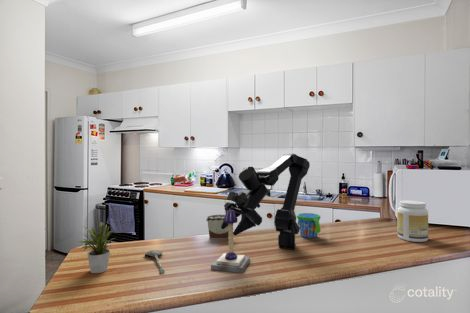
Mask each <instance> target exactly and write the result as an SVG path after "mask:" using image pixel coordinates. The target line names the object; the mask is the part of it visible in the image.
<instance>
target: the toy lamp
mask: <svg viewBox="0 0 470 313" xmlns="http://www.w3.org/2000/svg"><path fill="white" fill-rule="evenodd" d="M225 215H226V216H225V220H224V222H225V223H228V226H229V227H228V230H229V232H228V234H229V236H228V239H227V240H228V252H227V254H226V256H225V259H227V260H234V259H236V258H237V255H238V254H237V255H236V253H235V252H234V251H235V250H234V235H233V232H234V224H237V223H238V219H237V218H238V217H237V216H236V213H235V211H234V210H228V211H227V212H226V211H225Z"/></svg>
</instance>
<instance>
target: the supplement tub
mask: <svg viewBox="0 0 470 313" xmlns="http://www.w3.org/2000/svg"><path fill="white" fill-rule="evenodd" d="M398 205H399V207H398V208H397V211H396V212H397V214H396V216H397V217H396V218H397V223H396V224H397V225H396V226H397V231H396V232H397V233H396V234H397V237H398V238H400V240H403V241H408V242H414V243H416V242H417V243H421V242H422V243H423V242H427V241H428V240H429V210H428V209H427V208H426V207H427V205H426V202H424V201H419V200H406V199H405V200H400V201H399V203H398Z"/></svg>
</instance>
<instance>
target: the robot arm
mask: <svg viewBox="0 0 470 313" xmlns="http://www.w3.org/2000/svg"><path fill="white" fill-rule="evenodd" d="M310 165H311V164H310V161H309V160H308V159H307V158H305V157H302V156H299V155H297V154H296V153H292V152H291V153H288V152H287V153H285V154H283V155H282V156H281V157H280V158H279V159H278V160H277V161H275V162H274V163H273V164H271V165H270V166H268V167H263V168H261V169H259V170H258V171H256V169H255V168H254V166H248V167H247V168H246V169H244V170H242V171H240V173H239V174H238V180H240V182H241V184H242V185H243V186H244V187H245V189H246V190H247V191H248V192H247V193H246V192H244V191H239V192H235V191H232V190H229V193H228V194H227V198H226V200H228V201H227V202H225V204H224V205H223V207H224V210H225V213H226V212H227V211H228V210H234V211H235V213H236V216H237V220H238V219H239V218H238V217H240V216H241V218H240V219H241V220H239V222H238V224H237V226H236V227H235V229H233V236H235V237H236V236H238V235H239V234H241V233H243V232H246V231H247V230H249V229H251V228H253V227H257V226H261V224H262V222H263V217H262V216H261V215H260V213H259V212H257V211H256V208H258V209H259V208H260V207H261V202H262V201H263V200H264V198H265V197H266V196H267V197H268V198H269V197H271V196H272V195H271V189H270V188H267V186H269V187H272V186H274V185H276V183H277V182H278V181H279V176H280V175H281V174H282V173H283V172H285V170H287V169H288V171H289V174H290V176H289V181H288V185H287V189H286V193H285V197H284V200H283V205H282V207H281V208H277V209H276V212H275V216H274V219H273V220H274V222H273V224H274V226H275V231H276V232H279V234H278V235H277V236H278V237H277V238H278V240H277V241H278V243H277V245H278V248H279V249H288V250H290V249H291V250H295V249H296V246H297V243H296V235H298V234H300V227H299V225H298V222H297V215H296V212H295V208H296V205H297V199H298V196H299V193H300V192H299V191H300V188H301V183H302V180H303V178H305V176H307V174H308V172H309V169H310V167H311V166H310ZM224 215H225V216H226V214H224ZM224 220H225V218H224ZM224 220H223V223H222V225H221V228H222V229H224V228H226V227H227V226H228V223H225V222H224Z"/></svg>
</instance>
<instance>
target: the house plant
mask: <svg viewBox="0 0 470 313" xmlns="http://www.w3.org/2000/svg"><path fill="white" fill-rule="evenodd" d="M104 225H105V222H104V223H103V221H101V222H100V223H99V226H98V231H97V230H96V229H95V228H94V226H91V230H90V229H88V227H85V226H81V225H80V228H81V227H82V228H84V229H85V230H87V232H88V233H89V234H85V233H83V232H82V231H79V233H80V234H81V233H82V235H83V236H85V237H87V239H88V240H87V239H86V238H82V240H79V241H77V243H79V244H78V245H79V246H81V245H83V246H82V247H81V248H80V249H79V250H82V249H83V251H86V250H87V249H90V251H88V252H87V260H88V265H89V270H90V273H91V274H100V273H104V272H106V271H107V270H108V266H109V260H110V255H111V254H110V253H111V250H110V249H109V247H110V248H111V247H112V245H108V243H109V242H110V241H112V240H114V239H115V237H114V238H110V239H109V237H110V236H111V234H112V233H113V232H114V231H115V230H116V228H114V229H113V230H110V231H109V229H110V226H108V225H107V223H106V225H105V227H104ZM103 227H104V230H103ZM102 230H103V234H102ZM90 238H91V239H92V240H91V239H90ZM108 239H109V240H108ZM84 243H86V244H87V245H84Z"/></svg>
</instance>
